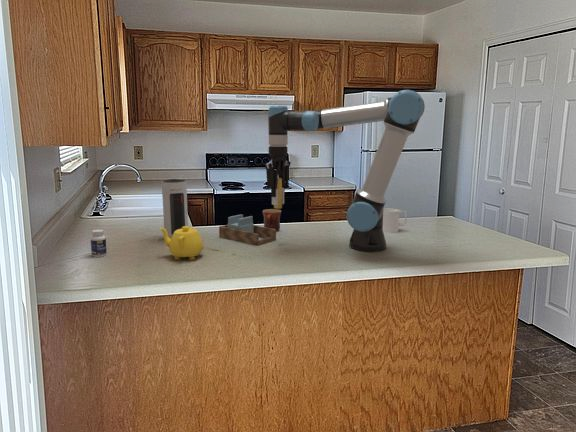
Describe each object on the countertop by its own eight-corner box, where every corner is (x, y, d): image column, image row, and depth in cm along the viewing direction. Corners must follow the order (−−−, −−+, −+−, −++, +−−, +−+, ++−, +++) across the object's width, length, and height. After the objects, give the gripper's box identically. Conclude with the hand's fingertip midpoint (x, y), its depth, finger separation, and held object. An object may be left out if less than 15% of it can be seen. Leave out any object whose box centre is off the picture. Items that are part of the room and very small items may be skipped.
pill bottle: (97, 258, 183) (96, 232, 181) (88, 255, 186) (86, 231, 184) (109, 254, 188) (108, 230, 186) (100, 252, 190) (99, 228, 188)
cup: (407, 233, 227) (408, 212, 225) (381, 232, 229) (382, 211, 227) (405, 229, 235) (406, 208, 233) (380, 228, 237) (381, 208, 235)
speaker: (163, 242, 207) (160, 181, 201) (164, 236, 217) (161, 178, 211) (188, 241, 209) (186, 180, 203) (188, 235, 219) (186, 177, 213)
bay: (275, 243, 207) (276, 229, 206) (257, 248, 198) (257, 234, 197) (238, 234, 221) (238, 222, 219) (219, 239, 211) (219, 226, 210)
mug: (265, 229, 231) (265, 208, 229) (283, 230, 229) (283, 209, 227) (258, 235, 219) (258, 213, 217) (277, 237, 218) (277, 214, 216)
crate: (253, 236, 212) (253, 216, 210) (240, 240, 206) (240, 219, 204) (240, 233, 217) (240, 214, 215) (227, 237, 211) (227, 217, 209)
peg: (283, 207, 197) (283, 178, 195) (278, 208, 195) (278, 179, 192) (277, 206, 199) (277, 177, 197) (272, 208, 197) (272, 178, 194)
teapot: (190, 249, 196) (189, 220, 194) (211, 256, 186) (210, 226, 184) (159, 256, 187) (158, 226, 184) (180, 264, 177) (179, 232, 174)
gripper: (283, 144, 200) (283, 200, 205) (257, 146, 188) (257, 205, 193) (298, 145, 196) (297, 202, 200) (271, 147, 183) (272, 208, 188)
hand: (278, 204), depth 197 cm, fingers closed on peg, 3 cm apart
